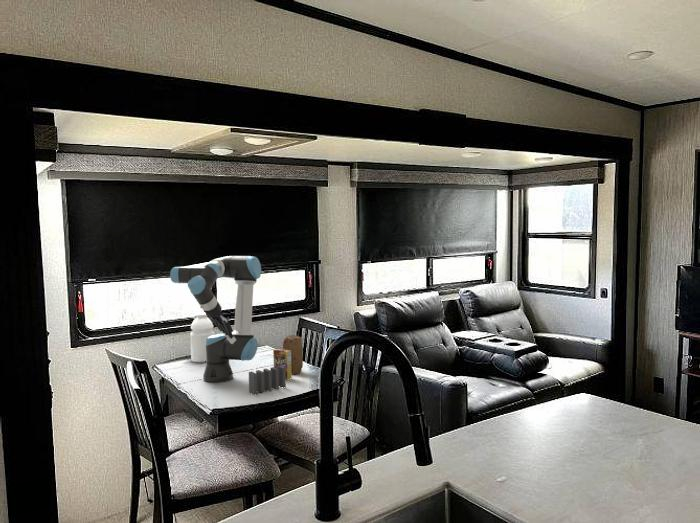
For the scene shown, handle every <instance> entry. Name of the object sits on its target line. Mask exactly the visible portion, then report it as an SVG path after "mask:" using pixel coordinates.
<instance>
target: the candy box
mask: <svg viewBox="0 0 700 523" xmlns="http://www.w3.org/2000/svg"><path fill="white" fill-rule="evenodd" d="M272 351H273V352H272V353H273V367H274V368H277V366H282V367H285V370H286V381H289V380H291V379H292V378H293V377H292V375H293V374H292V371H291V350H285V349H283V348H275V349H273V350H272ZM290 378H291V379H290ZM288 379H289V380H288Z"/></svg>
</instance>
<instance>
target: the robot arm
mask: <svg viewBox="0 0 700 523" xmlns="http://www.w3.org/2000/svg"><path fill="white" fill-rule="evenodd" d="M169 274H170V275H169V277H170V278H169V279H170V281H171V282H172V283H175V284H187V288H188V289H189V291H190V293H191V294H192V296H193V298H195V300H196V302H197V303H198V304H199V306H200V308H199V309H202V310H203V313H205V314H206V315H207V317H208V318H209V319H210V320H211V322H212V324H213V325H215V326H216V328H217V329H218V331H220V332H222V333H216V334H214V335H212V336H209V337H207V339H206V362H205V363H206V365H205V368H204V371H203V379H204V380H205V381H204V380H203V381H204V382H207V381H208V383H222V382H221V381H223V382H227V381H226V380H228V381H231V380H232V379H233V378H234V373H233V370H232V368H231V364H230V360H231V361H241V362H244V361H251V360H253V358H254V357H255V356H256V355H257V351H258V344H259V343H258V339H257V338H255V336H254V333H253V332H252V320H253V319H252V318H253V301H254V285H255V284H256V283H257V282H258V280H257V279H260V278H261V275H262V266H261V262H260V260H259V258H257V256H253V255H252V256H251V255H229V256H228V255H227V256H223V257H222V256H221V257H218V258H214V259H212V260H210V261H209V262H203V263H198V264H192V265H186V266H174V267H172V268H171V270H170V273H169ZM218 278H228V279H233V282H234V283H235V284H236V290H235V291H236V292H235V310H234V312H235V313H234V329H233V328H232V326H231V323H230V320H229V318H228V317H226V318H225V317H224V314H223V313H222V306H221V305H220V303H219V301H218V299H217V298H216V296H215V294H214V293H213V292H212V288H213V286H214V284H215V283H216V281H217V280H218Z"/></svg>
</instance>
